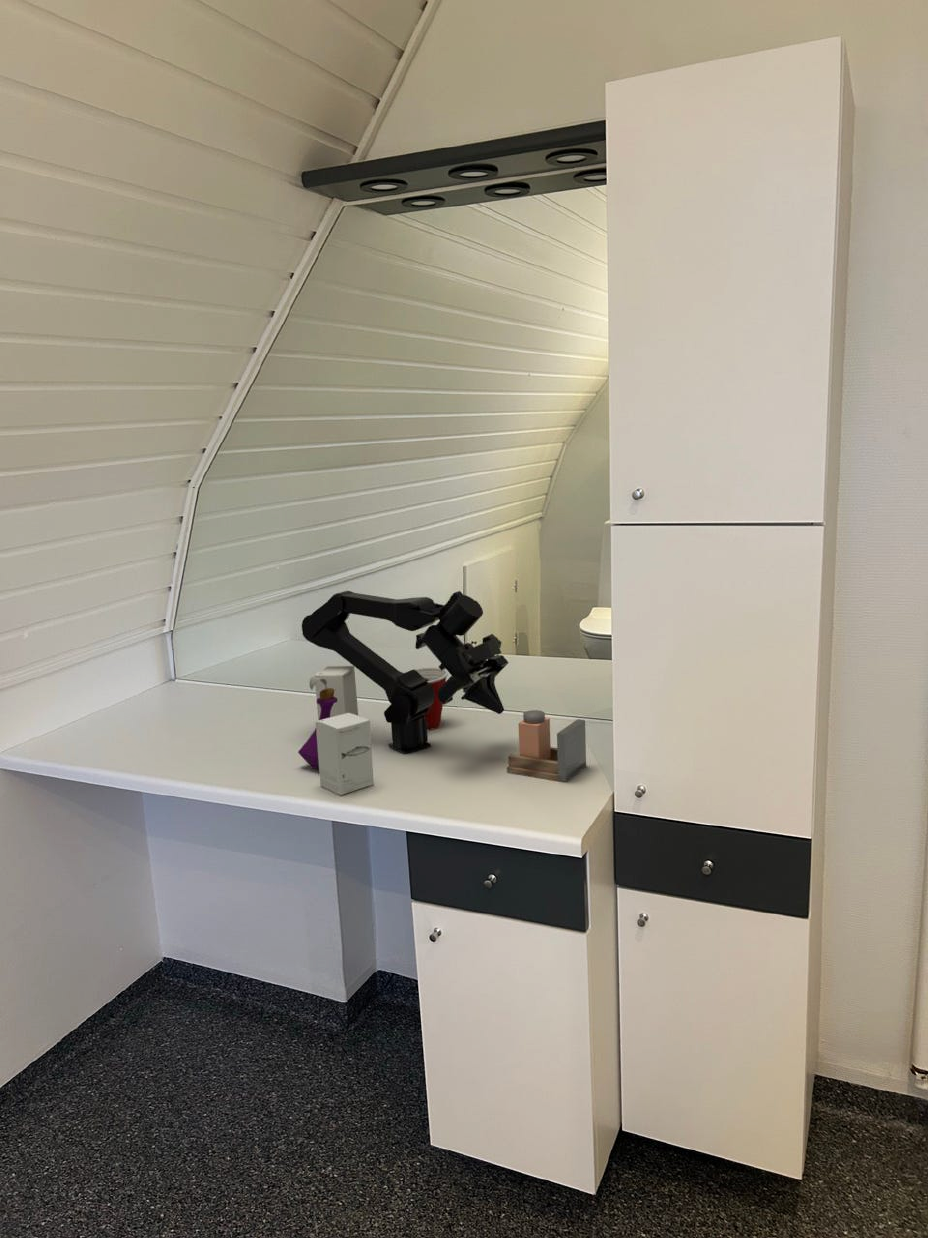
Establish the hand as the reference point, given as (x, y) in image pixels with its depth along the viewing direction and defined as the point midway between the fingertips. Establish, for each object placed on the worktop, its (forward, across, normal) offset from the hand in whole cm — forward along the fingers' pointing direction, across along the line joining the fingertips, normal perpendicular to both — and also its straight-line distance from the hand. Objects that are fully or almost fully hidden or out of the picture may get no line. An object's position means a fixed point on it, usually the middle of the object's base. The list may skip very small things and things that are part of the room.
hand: (502, 712), depth 178 cm
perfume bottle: (-14, -16, +29) cm, 36 cm away
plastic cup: (-11, +13, +26) cm, 31 cm away
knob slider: (+11, 0, +1) cm, 11 cm away
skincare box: (-19, -3, +34) cm, 39 cm away
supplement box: (-7, -22, +22) cm, 32 cm away
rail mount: (+14, 0, 0) cm, 14 cm away
